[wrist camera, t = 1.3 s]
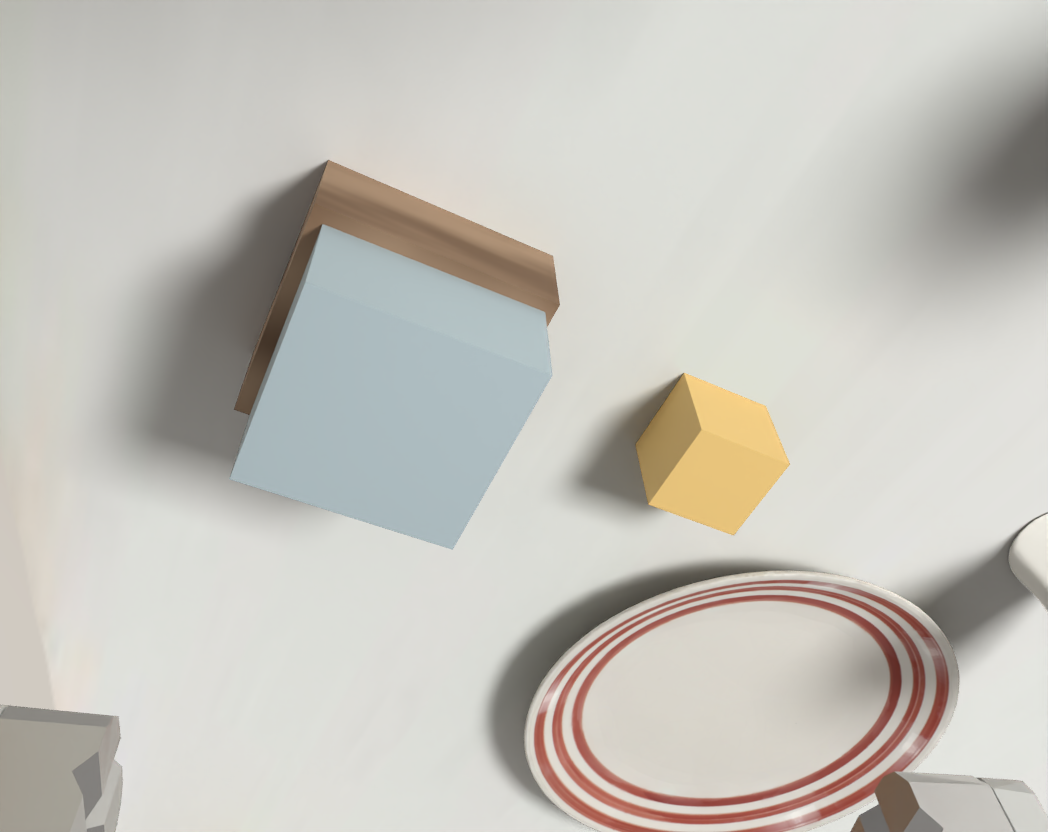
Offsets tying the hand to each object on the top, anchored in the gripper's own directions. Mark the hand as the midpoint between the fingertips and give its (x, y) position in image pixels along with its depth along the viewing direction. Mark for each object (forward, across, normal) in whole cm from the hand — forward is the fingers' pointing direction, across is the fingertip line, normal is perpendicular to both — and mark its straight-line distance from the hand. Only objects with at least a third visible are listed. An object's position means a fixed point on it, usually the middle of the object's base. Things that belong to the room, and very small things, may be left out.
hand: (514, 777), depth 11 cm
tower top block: (+32, +1, +14) cm, 35 cm away
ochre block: (+36, -15, +19) cm, 44 cm away
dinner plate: (+37, -24, +39) cm, 59 cm away
